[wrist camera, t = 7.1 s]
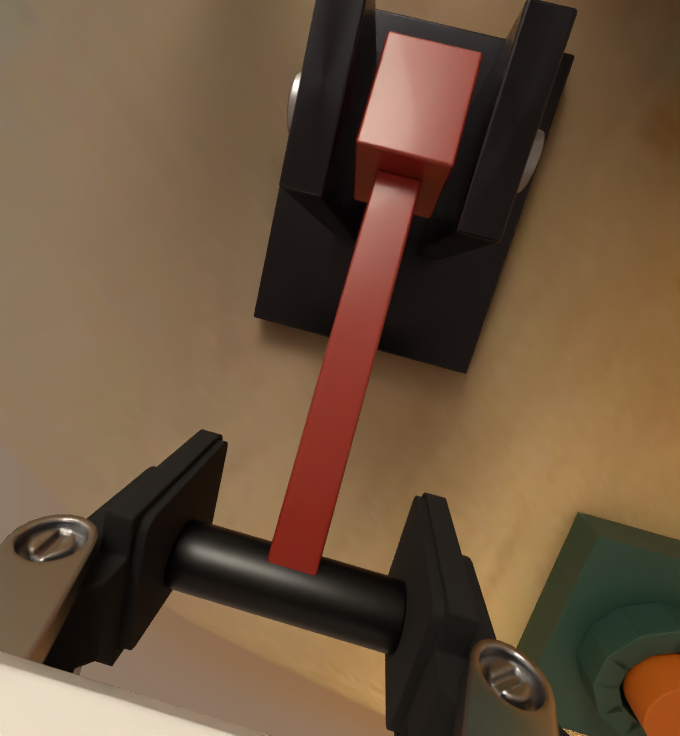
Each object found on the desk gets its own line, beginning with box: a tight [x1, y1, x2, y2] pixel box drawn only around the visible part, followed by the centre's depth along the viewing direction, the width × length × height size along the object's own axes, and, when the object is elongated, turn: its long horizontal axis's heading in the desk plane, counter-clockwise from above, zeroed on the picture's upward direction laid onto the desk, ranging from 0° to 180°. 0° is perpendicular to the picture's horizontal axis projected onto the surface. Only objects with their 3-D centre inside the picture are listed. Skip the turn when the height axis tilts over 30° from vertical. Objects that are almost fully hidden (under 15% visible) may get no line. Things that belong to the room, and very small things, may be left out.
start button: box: [623, 653, 680, 736], centre depth 19 cm, size 4×4×2 cm
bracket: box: [254, 0, 577, 374], centre depth 14 cm, size 14×11×12 cm
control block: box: [517, 512, 680, 736], centre depth 22 cm, size 12×10×4 cm
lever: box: [164, 31, 482, 655], centre depth 9 cm, size 13×5×2 cm, turn 166°
